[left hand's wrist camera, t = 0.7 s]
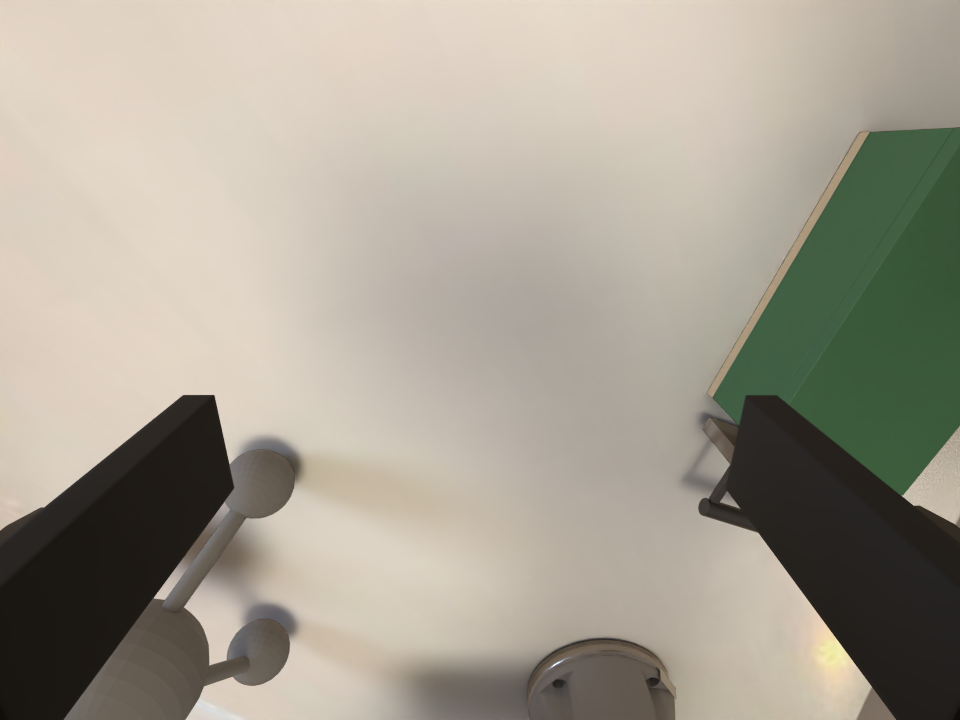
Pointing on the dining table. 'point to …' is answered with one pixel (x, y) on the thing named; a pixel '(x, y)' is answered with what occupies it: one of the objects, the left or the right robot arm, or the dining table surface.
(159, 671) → the molecular model
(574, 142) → the dining table surface
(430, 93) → the dining table surface
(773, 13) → the dining table surface
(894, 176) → the cabinet
